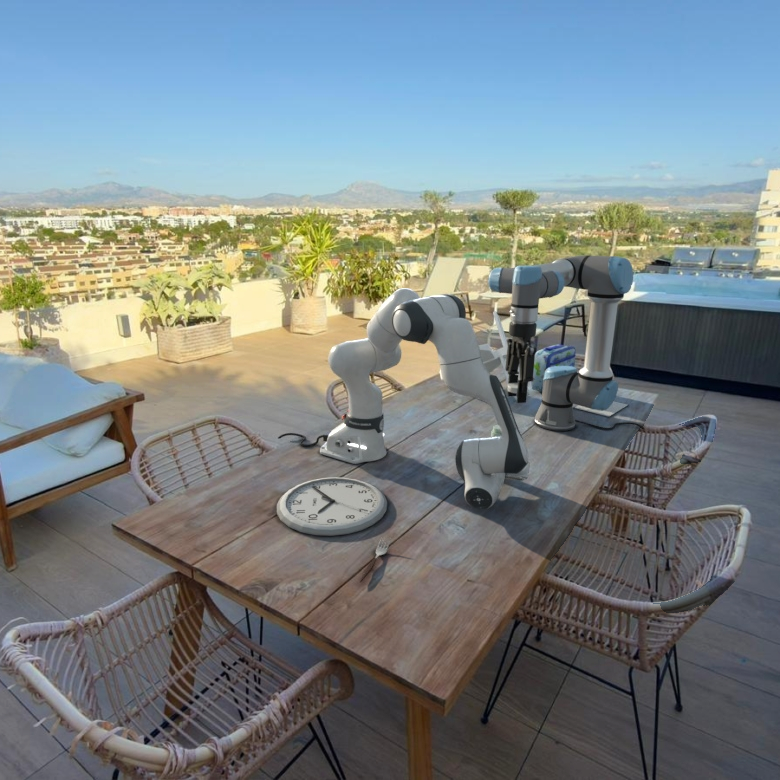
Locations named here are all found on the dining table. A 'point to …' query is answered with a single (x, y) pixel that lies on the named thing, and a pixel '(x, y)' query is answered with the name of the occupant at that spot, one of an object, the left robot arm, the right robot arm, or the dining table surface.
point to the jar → (496, 431)
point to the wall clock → (331, 506)
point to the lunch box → (551, 362)
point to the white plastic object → (495, 353)
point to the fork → (379, 552)
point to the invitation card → (608, 412)
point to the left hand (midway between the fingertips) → (497, 454)
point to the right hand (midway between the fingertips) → (516, 399)
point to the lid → (512, 387)
